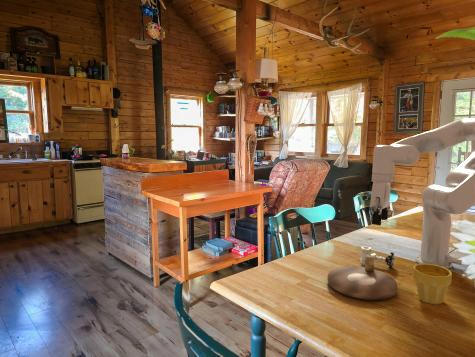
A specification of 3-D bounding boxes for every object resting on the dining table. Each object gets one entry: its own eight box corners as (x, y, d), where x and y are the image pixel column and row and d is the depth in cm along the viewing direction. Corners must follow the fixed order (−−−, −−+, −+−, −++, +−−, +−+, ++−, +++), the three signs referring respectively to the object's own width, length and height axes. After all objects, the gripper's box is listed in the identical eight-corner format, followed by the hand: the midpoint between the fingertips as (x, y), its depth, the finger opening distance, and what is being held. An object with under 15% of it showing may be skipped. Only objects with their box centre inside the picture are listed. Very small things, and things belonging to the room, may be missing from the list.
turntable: (403, 280, 115) (404, 262, 114) (387, 307, 98) (389, 285, 97) (340, 265, 128) (341, 249, 127) (317, 286, 111) (317, 267, 110)
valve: (357, 265, 132) (390, 272, 125) (358, 249, 131) (391, 255, 124) (362, 260, 137) (393, 266, 131) (362, 244, 136) (394, 250, 130)
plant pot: (407, 299, 104) (409, 270, 103) (416, 288, 112) (418, 260, 110) (445, 311, 97) (448, 279, 96) (452, 298, 105) (455, 269, 103)
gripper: (378, 175, 135) (375, 216, 137) (365, 179, 121) (362, 225, 123) (398, 176, 130) (395, 219, 133) (387, 181, 117) (384, 228, 119)
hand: (379, 222), depth 128 cm, fingers open, 9 cm apart
